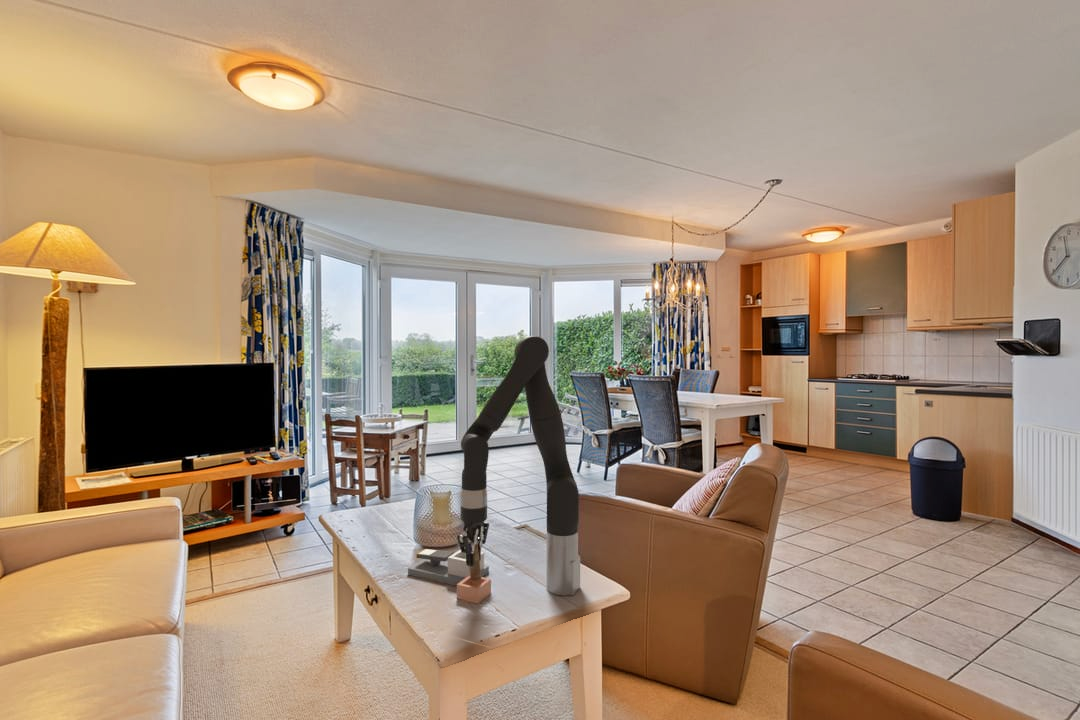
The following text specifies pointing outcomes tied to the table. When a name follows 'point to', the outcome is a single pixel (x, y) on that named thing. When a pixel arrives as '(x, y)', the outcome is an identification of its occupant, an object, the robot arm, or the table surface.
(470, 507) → the robot arm
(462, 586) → the holder
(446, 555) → the rocker switch
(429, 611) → the table surface
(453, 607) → the table surface
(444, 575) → the grey base slab
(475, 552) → the brown rectangular block
